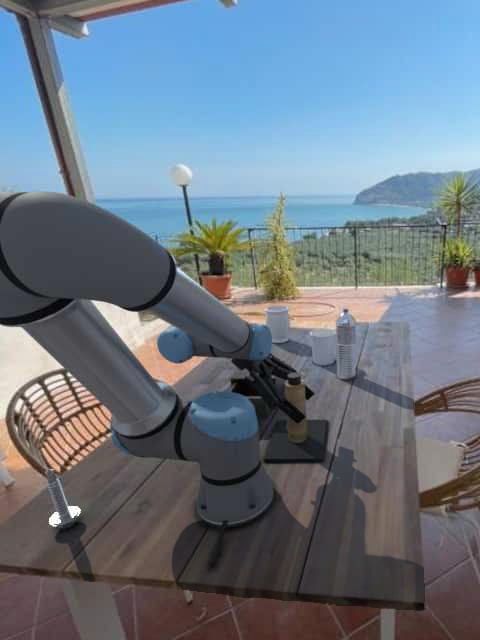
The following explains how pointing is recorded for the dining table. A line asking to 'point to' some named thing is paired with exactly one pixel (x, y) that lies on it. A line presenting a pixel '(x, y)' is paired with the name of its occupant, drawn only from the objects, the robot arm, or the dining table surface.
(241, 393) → the drawer
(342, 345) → the water bottle
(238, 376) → the cabinet
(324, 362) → the candle holder
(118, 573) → the dining table surface
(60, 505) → the screw
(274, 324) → the jar
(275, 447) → the placemat
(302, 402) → the pepper mill
